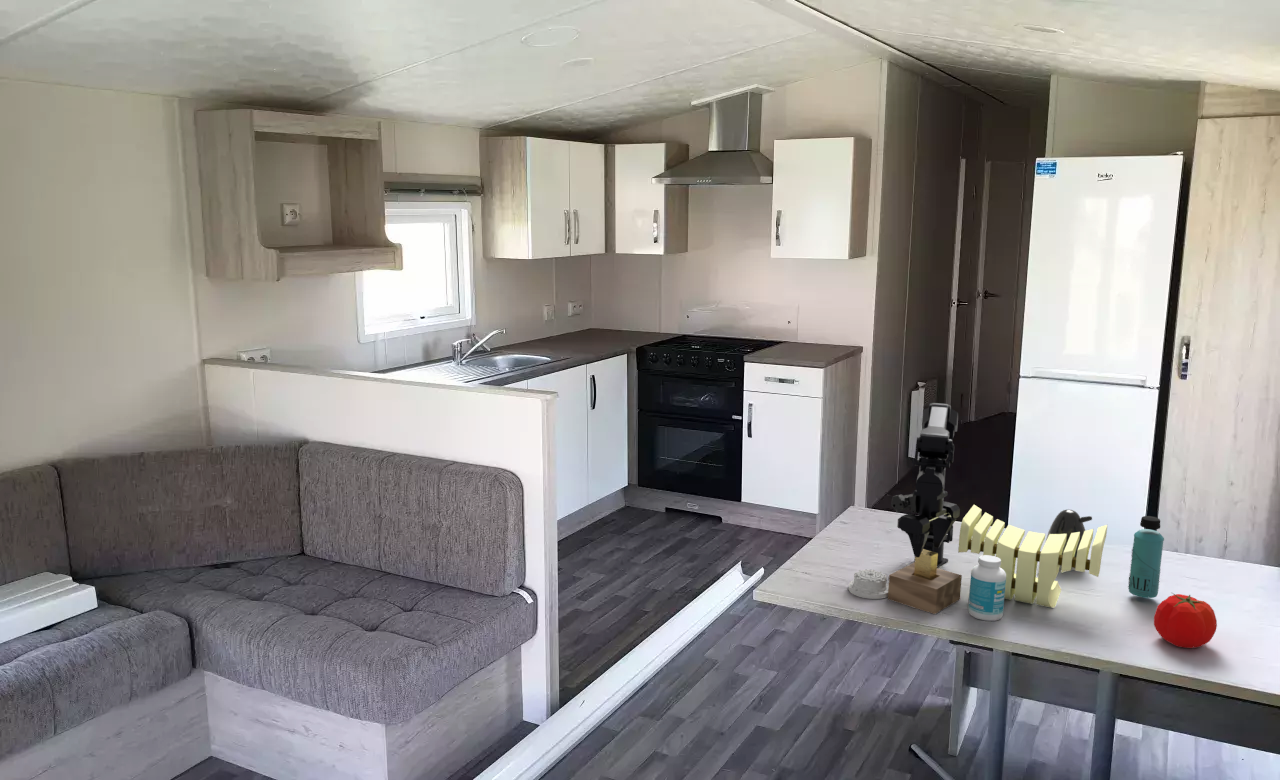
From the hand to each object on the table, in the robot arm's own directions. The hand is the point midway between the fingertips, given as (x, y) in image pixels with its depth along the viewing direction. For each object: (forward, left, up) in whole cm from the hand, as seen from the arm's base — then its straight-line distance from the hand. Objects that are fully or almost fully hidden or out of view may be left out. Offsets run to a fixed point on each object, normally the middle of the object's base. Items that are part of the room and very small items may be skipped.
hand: (926, 551), depth 224 cm
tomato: (-18, +50, -12) cm, 54 cm away
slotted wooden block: (0, 0, -12) cm, 12 cm away
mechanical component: (+4, -12, -12) cm, 17 cm away
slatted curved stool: (-20, +16, -12) cm, 28 cm away
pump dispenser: (-45, +15, -12) cm, 49 cm away
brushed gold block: (0, 0, -10) cm, 10 cm away
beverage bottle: (-37, +36, -12) cm, 53 cm away
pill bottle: (-2, +14, -12) cm, 19 cm away
